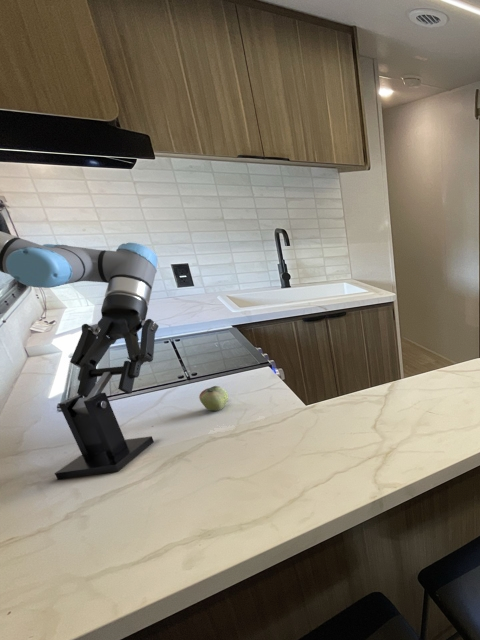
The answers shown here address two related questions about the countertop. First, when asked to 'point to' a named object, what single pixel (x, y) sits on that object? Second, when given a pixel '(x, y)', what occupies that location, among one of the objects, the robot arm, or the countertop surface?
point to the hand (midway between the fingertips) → (104, 393)
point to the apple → (214, 398)
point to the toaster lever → (96, 386)
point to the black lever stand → (98, 439)
